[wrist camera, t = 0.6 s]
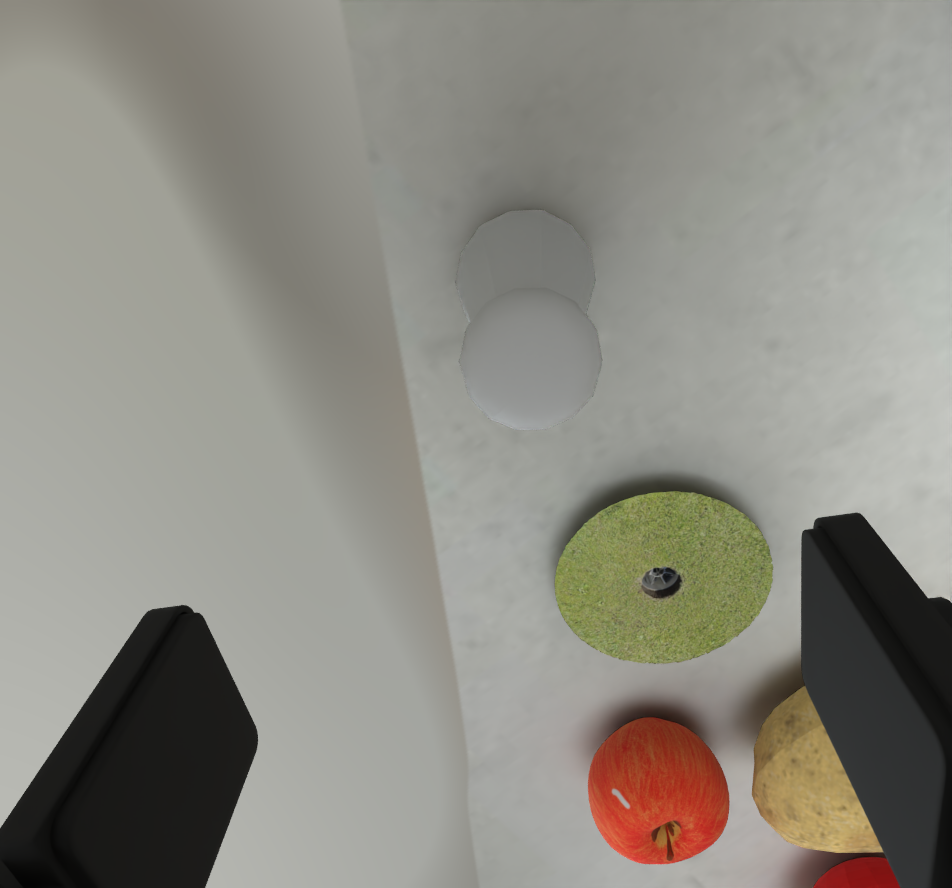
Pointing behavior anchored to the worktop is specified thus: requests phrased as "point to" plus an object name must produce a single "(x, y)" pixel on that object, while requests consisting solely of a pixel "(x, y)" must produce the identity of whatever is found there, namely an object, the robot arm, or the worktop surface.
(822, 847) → the potato
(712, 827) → the apple
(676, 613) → the mat
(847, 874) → the tomato
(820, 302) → the worktop surface
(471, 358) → the salt shaker
